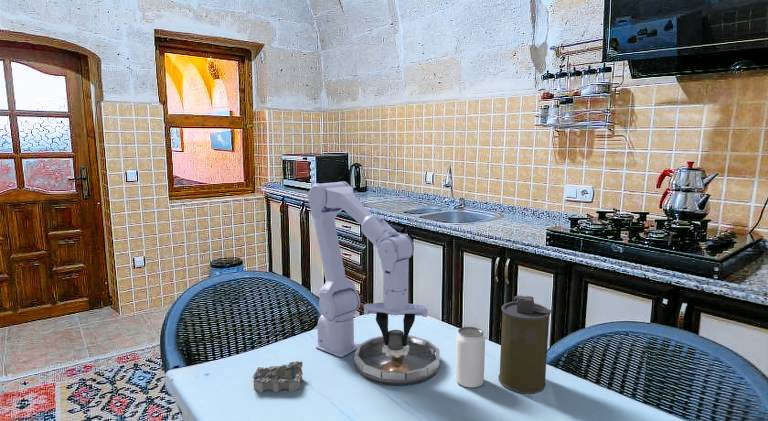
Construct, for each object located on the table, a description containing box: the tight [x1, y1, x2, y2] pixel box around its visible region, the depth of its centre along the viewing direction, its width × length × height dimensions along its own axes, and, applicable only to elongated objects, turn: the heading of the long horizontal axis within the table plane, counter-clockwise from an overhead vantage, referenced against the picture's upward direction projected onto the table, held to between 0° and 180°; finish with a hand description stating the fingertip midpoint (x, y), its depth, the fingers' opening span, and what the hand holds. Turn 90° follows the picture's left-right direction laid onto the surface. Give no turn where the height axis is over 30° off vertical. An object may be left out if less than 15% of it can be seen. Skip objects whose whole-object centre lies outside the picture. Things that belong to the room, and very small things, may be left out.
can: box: [454, 326, 486, 389], centre depth 104 cm, size 6×6×12 cm
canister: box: [498, 295, 553, 395], centre depth 104 cm, size 11×10×20 cm
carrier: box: [353, 334, 441, 387], centre depth 113 cm, size 21×21×5 cm
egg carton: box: [252, 360, 303, 393], centre depth 104 cm, size 11×8×4 cm
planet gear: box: [382, 329, 409, 357], centre depth 107 cm, size 6×6×4 cm
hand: (395, 344), depth 107 cm, fingers closed on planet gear, 4 cm apart
